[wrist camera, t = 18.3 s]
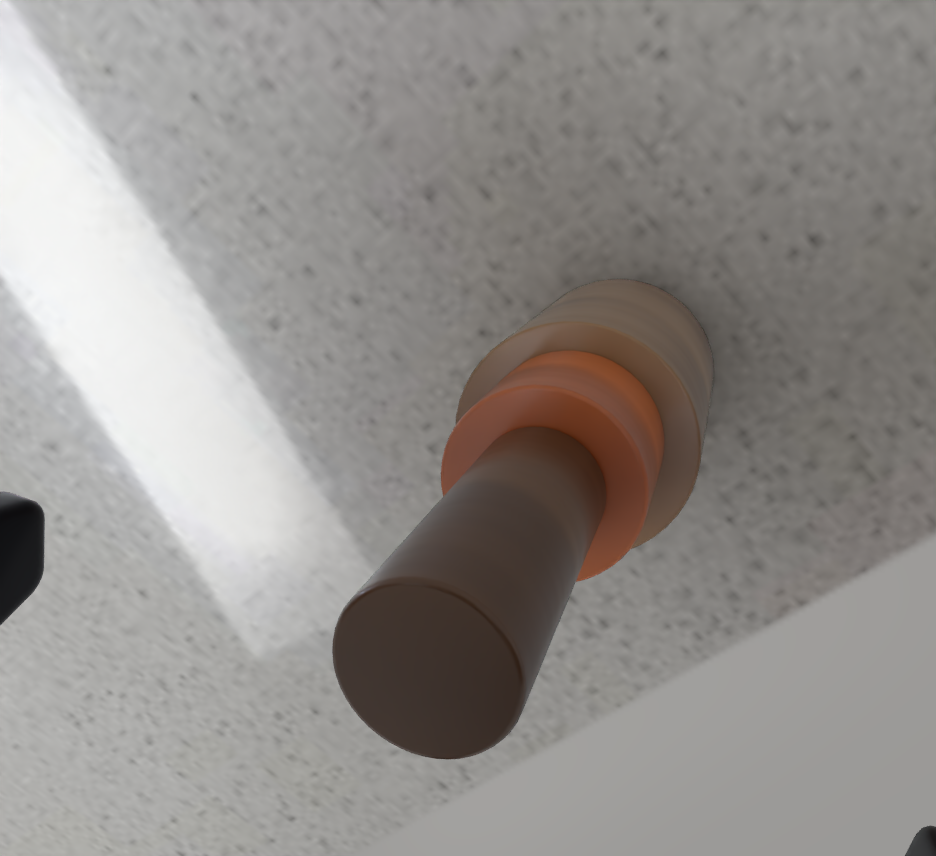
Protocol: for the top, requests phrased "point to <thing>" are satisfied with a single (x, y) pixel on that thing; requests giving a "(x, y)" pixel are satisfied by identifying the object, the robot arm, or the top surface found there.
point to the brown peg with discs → (500, 554)
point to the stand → (639, 352)
